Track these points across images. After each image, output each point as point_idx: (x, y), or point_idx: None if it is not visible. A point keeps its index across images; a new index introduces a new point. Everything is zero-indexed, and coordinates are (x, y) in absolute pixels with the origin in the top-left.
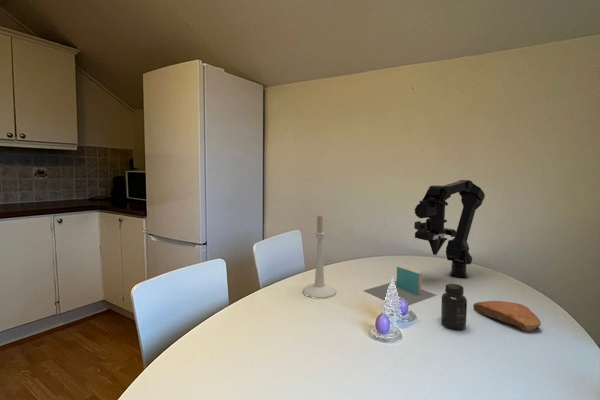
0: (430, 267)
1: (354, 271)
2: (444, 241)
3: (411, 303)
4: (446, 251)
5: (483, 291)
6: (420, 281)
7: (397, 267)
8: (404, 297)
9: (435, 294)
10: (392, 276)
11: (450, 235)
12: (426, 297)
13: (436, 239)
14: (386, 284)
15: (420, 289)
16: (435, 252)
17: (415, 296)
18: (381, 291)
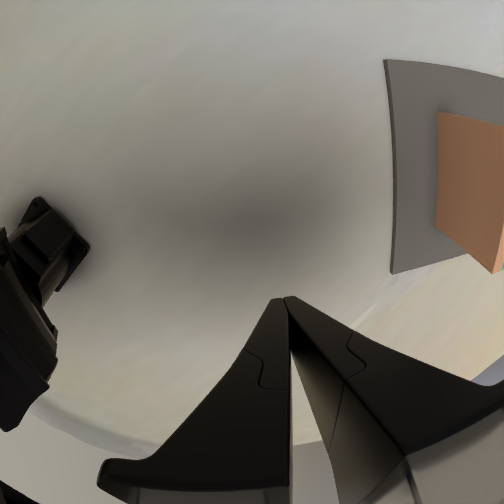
0: (114, 357)
1: None
2: (197, 431)
3: (502, 82)
4: (53, 365)
5: (96, 20)
6: (481, 121)
7: (502, 264)
8: None
9: (389, 68)
10: (356, 324)
11: (1, 499)
12: (441, 74)
13: (475, 434)
14: (453, 253)
15: (452, 114)
16: (312, 307)
17: (465, 108)
18: None
